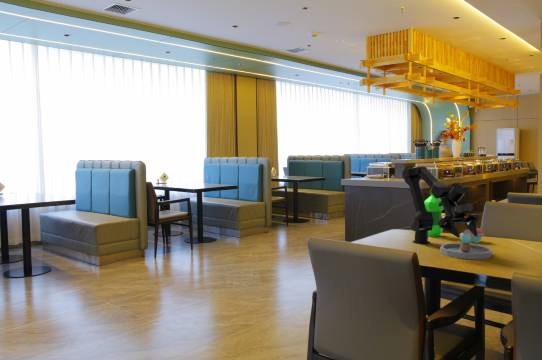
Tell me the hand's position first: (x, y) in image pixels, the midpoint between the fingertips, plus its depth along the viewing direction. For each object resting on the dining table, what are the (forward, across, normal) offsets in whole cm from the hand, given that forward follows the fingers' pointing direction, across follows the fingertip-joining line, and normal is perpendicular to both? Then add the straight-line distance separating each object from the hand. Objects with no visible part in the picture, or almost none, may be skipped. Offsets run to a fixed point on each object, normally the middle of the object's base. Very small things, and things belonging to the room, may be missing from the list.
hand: (468, 236), depth 197 cm
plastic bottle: (-26, +17, +39) cm, 49 cm away
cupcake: (-12, +27, +25) cm, 38 cm away
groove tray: (+2, +4, +11) cm, 12 cm away
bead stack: (+5, 0, +7) cm, 8 cm away
